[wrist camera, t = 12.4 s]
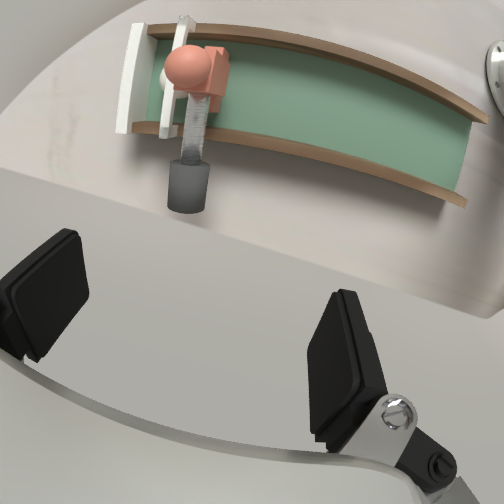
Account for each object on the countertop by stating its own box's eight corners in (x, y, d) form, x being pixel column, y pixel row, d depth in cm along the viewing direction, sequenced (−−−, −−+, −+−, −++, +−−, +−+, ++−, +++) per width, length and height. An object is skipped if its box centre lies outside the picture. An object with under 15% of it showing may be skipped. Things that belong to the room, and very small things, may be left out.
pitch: (153, 34, 21) (137, 25, 18) (468, 113, 22) (489, 116, 18) (138, 128, 26) (120, 132, 23) (447, 196, 27) (464, 208, 23)
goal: (149, 32, 20) (125, 20, 16) (204, 31, 20) (188, 15, 16) (134, 129, 26) (107, 135, 21) (186, 133, 26) (167, 138, 21)
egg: (163, 53, 18) (209, 57, 19) (163, 60, 21) (203, 63, 23) (155, 97, 20) (202, 100, 21) (157, 97, 23) (197, 100, 24)
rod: (210, 52, 21) (165, 17, 11) (241, 55, 21) (217, 16, 11) (190, 183, 28) (141, 230, 17) (219, 187, 28) (184, 238, 17)
